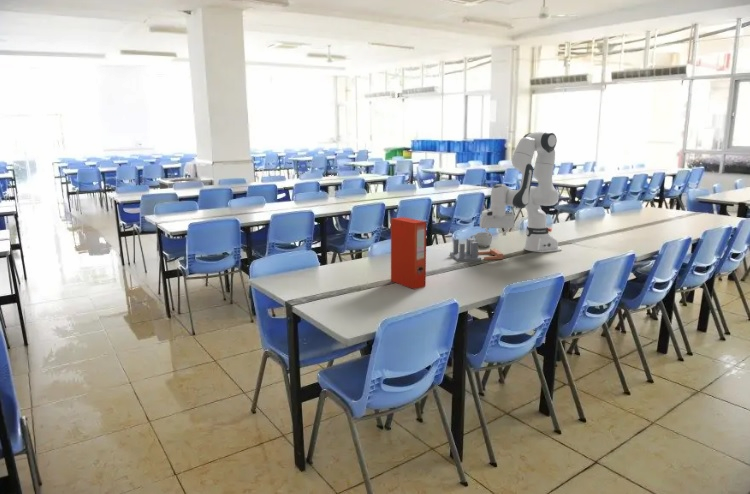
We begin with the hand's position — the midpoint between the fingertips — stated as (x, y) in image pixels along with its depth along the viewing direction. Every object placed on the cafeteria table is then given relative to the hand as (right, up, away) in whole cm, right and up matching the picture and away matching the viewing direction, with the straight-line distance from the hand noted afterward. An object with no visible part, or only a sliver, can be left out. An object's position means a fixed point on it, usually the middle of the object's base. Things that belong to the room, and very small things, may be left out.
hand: (496, 235), depth 309 cm
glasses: (-3, -12, +3) cm, 13 cm away
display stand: (-18, -13, +1) cm, 22 cm away
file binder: (-55, -25, -50) cm, 78 cm away
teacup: (-3, -6, +31) cm, 32 cm away
